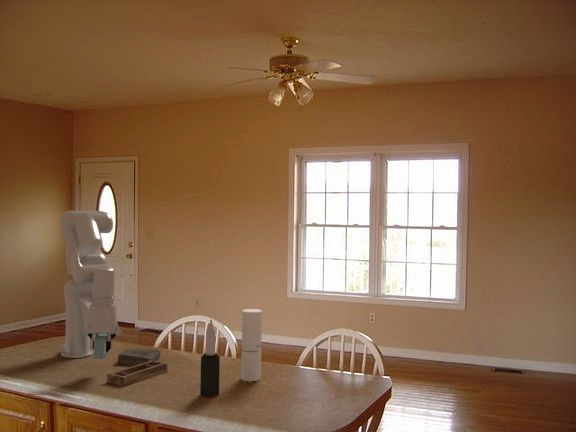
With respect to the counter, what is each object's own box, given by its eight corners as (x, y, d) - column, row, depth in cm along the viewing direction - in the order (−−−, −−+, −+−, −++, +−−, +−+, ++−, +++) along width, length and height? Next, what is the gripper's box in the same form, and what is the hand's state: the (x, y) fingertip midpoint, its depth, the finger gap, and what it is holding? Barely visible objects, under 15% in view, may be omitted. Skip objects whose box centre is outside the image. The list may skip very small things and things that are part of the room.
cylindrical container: (264, 379, 207) (266, 310, 207) (250, 383, 202) (251, 313, 201) (251, 375, 212) (252, 308, 211) (237, 378, 206) (238, 310, 206)
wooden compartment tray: (107, 382, 199) (107, 373, 199) (150, 367, 218) (151, 360, 218) (124, 386, 195) (124, 377, 195) (167, 371, 214) (167, 363, 214)
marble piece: (151, 368, 219) (151, 357, 219) (113, 367, 219) (113, 356, 219) (162, 357, 235) (162, 347, 235) (127, 356, 236) (127, 346, 236)
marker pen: (210, 398, 185) (212, 321, 185) (198, 395, 188) (200, 319, 187) (220, 393, 189) (221, 319, 189) (208, 391, 192) (210, 317, 192)
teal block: (93, 358, 202) (93, 339, 201) (99, 350, 212) (100, 332, 211) (103, 358, 202) (104, 339, 202) (109, 351, 212) (110, 332, 212)
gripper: (76, 302, 202) (75, 353, 202) (124, 303, 203) (123, 354, 204) (82, 298, 209) (81, 348, 210) (128, 299, 211) (126, 348, 211)
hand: (101, 350), depth 207 cm, fingers closed on teal block, 3 cm apart
